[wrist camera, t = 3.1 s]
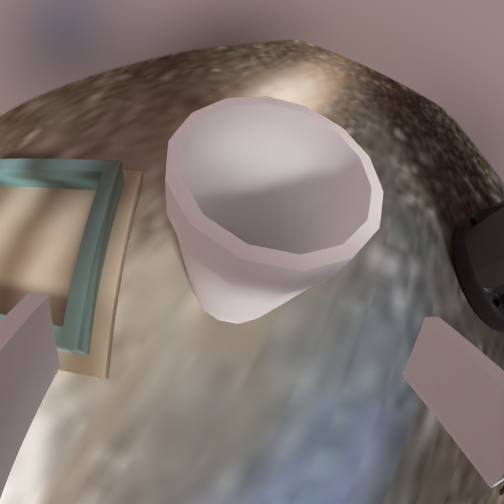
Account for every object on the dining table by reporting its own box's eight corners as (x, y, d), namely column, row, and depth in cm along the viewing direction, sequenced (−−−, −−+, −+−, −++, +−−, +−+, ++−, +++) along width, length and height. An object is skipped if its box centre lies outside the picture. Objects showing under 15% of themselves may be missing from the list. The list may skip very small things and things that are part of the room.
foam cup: (203, 211, 26) (223, 77, 15) (307, 254, 27) (386, 144, 15) (150, 313, 22) (118, 207, 10) (271, 363, 22) (366, 310, 11)
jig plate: (143, 177, 27) (140, 150, 24) (108, 378, 19) (95, 373, 16) (-6, 172, 24) (-18, 149, 21) (-60, 334, 16) (-84, 322, 13)
